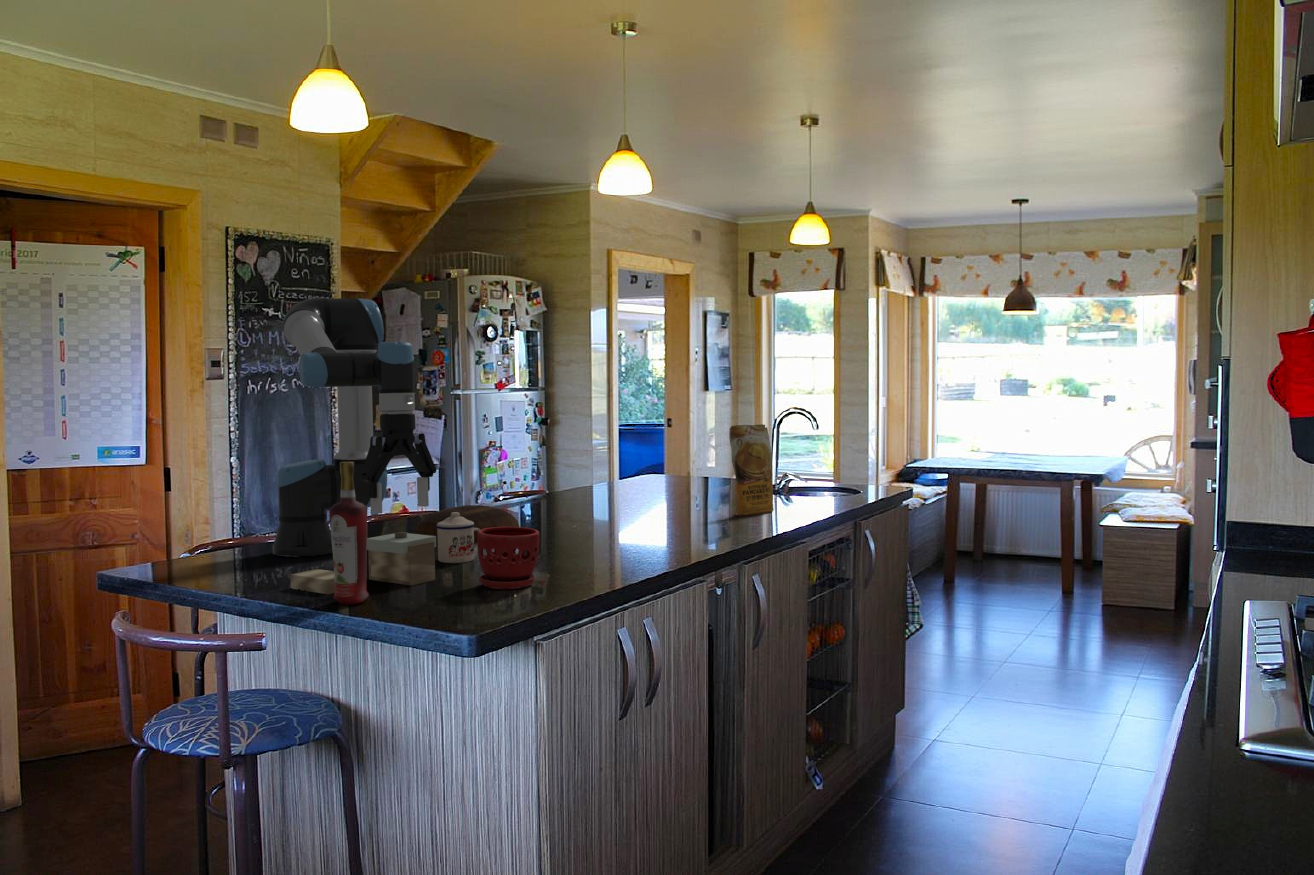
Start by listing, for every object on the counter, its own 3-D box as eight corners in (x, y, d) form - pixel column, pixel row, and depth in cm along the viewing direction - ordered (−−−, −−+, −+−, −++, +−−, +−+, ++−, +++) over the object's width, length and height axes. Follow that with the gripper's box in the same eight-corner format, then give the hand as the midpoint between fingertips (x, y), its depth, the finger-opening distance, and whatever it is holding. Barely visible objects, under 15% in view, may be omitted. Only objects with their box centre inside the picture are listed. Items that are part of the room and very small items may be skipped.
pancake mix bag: (722, 514, 327) (722, 425, 325) (766, 509, 339) (766, 423, 337) (737, 517, 322) (736, 426, 320) (781, 511, 334) (781, 423, 332)
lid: (365, 549, 229) (365, 534, 229) (400, 542, 237) (399, 528, 237) (402, 553, 223) (402, 538, 223) (436, 547, 231) (436, 531, 231)
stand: (290, 588, 223) (290, 574, 222) (317, 582, 229) (317, 569, 228) (328, 594, 216) (327, 580, 216) (355, 588, 222) (354, 574, 222)
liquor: (324, 604, 206) (319, 463, 204) (347, 597, 213) (343, 460, 211) (355, 607, 204) (350, 464, 202) (377, 599, 210) (373, 461, 209)
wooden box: (369, 579, 231) (368, 541, 231) (393, 574, 237) (392, 536, 237) (411, 585, 224) (410, 546, 223) (435, 579, 230) (434, 541, 229)
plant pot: (487, 594, 214) (485, 536, 213) (472, 583, 226) (470, 528, 225) (548, 588, 219) (547, 531, 219) (530, 577, 231) (529, 523, 231)
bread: (540, 534, 295) (539, 503, 294) (475, 548, 272) (474, 515, 271) (464, 527, 310) (463, 498, 309) (396, 540, 287) (395, 509, 286)
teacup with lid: (449, 565, 247) (448, 516, 247) (430, 560, 254) (428, 512, 253) (492, 558, 255) (491, 511, 255) (473, 554, 262) (471, 507, 261)
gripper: (364, 414, 216) (368, 517, 217) (450, 410, 237) (453, 504, 238) (340, 414, 220) (343, 515, 221) (426, 410, 241) (429, 502, 242)
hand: (400, 509), depth 229 cm, fingers open, 13 cm apart
